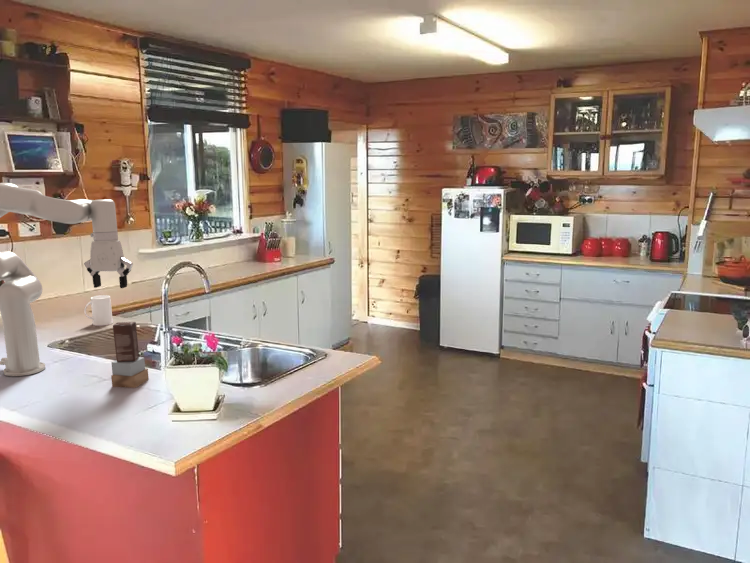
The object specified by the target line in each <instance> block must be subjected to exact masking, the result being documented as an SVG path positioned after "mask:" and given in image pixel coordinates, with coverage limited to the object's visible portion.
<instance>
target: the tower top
mask: <svg viewBox="0 0 750 563" xmlns="http://www.w3.org/2000/svg"><path fill="white" fill-rule="evenodd" d="M145 368H146V363H145V357H143V356H139V358H138V359H137V360H136V361H122V362H117V359H116V360H114V361H111V371H112V375H123V376H133V375H135V374H137V373H139V372H141V371H143V370H145Z"/></svg>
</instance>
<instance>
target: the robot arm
mask: <svg viewBox="0 0 750 563" xmlns="http://www.w3.org/2000/svg"><path fill="white" fill-rule="evenodd" d="M9 213H14V214H21V215H26V216H32V217H35V218H39V219H43V220H45V221H46V220H47V221H50V222H56V223H61V224H68V225H75V224H79V223H84V222H87V221H91V226H92V233H90V238H92V239H93V240H92V241H91V242H90V243H91V244H90V253H89V254H90V257H89V258H90V259H89V260H86V261H85V262H84V263H83V266H85V268H86V271H87V272H88V273H89V274H90V276H91V277H92V284H93V288H95V289H96V288H100V287H101V286H102V282H101V281H102V279H101V274H99V273H100V272H117V274H118V275H119V278H118V281H119V288H120V289H124V288H127V286H128V277H127V276H128V275H129V273H130V272H131V271H132V267H133V265H134V263H133V262H131V261H130V260H129V259H126V258H125V256H124V255H125V254H124V249H123V246H122V243H121V240H120V239H119V234H118V222H117V211H116V203H115V201H114V200H113V199H110V198H109V199H106V198H104V199H95V200H94V199H85V198H77V199H70V200H69V199H62V198H55V197H51V196H47V195H44V194H42V192H41V191H40V190H37V189H32V188H28V187H27V188H26V187H21V186H20V187H19V186H17V185H16V184H15V183H12V182H0V218H2V217H3V216H5V215H7V214H9ZM125 266H126V267H125ZM1 281H3V283H2V284H1V285H0V317H1V321H2V322H1V323H2V329H3V335H4V344H5V350H6V351H5V354H6V357H2V358H1V359H0V366H5V368H4V369H3V375H5V376H6V377H24V376H29V375H34V374H37V373H39V372H42V371H44V370H45V369H46V364H45V363H44V362H42V361H40V360H41V359H40V352H39V345H38V344H39V343H38V334H37V327H36V321H35V320H36V319H35V315H34V311H33V308H32V307H31V304H32V303H33V302H35V301H37V300H38V299H39V298H40V297H41V296H42V294H43V285H42V283H41V281H40V279H39V278H38V277H37V276H36V274H35V273H34V272H33V270H32V269H31V268H29V266H28V265H27V264H26V263H25V261H24V260H23V259H22V258H21V257H20V256H19V255H17V254H16V253H15V252H12V251H10V250H0V282H1Z"/></svg>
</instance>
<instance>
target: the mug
mask: <svg viewBox="0 0 750 563" xmlns="http://www.w3.org/2000/svg"><path fill="white" fill-rule="evenodd" d="M88 306H91V307H90V308H91V316H89V315H88V314H87V308H88ZM83 310H84V311H83V312H84V315H85V316H86V317H87V319H90V320H92V326H94V327H95V326H96V327H98V326H108V325H109V326H110V325H111V324H113V323H114V320H113V313H112V312H113V311H112V310H113V309H112V300H111V295H109V294H108V295H107V294H99V295H94V296H91V297H90V301H88V303H86V305H85V306H84V309H83Z"/></svg>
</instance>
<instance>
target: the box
mask: <svg viewBox="0 0 750 563" xmlns="http://www.w3.org/2000/svg"><path fill="white" fill-rule="evenodd" d="M136 323H137V322H136V321H128V322H125V321H124V322H123V321H122V322H115V323H114V324H113V325H112V329H113V338H114V347H115V357H116V360H117V362H122V361H136V360H137V359H138V358H139V357H140V352H139V340H138V335H137V324H136Z"/></svg>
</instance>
